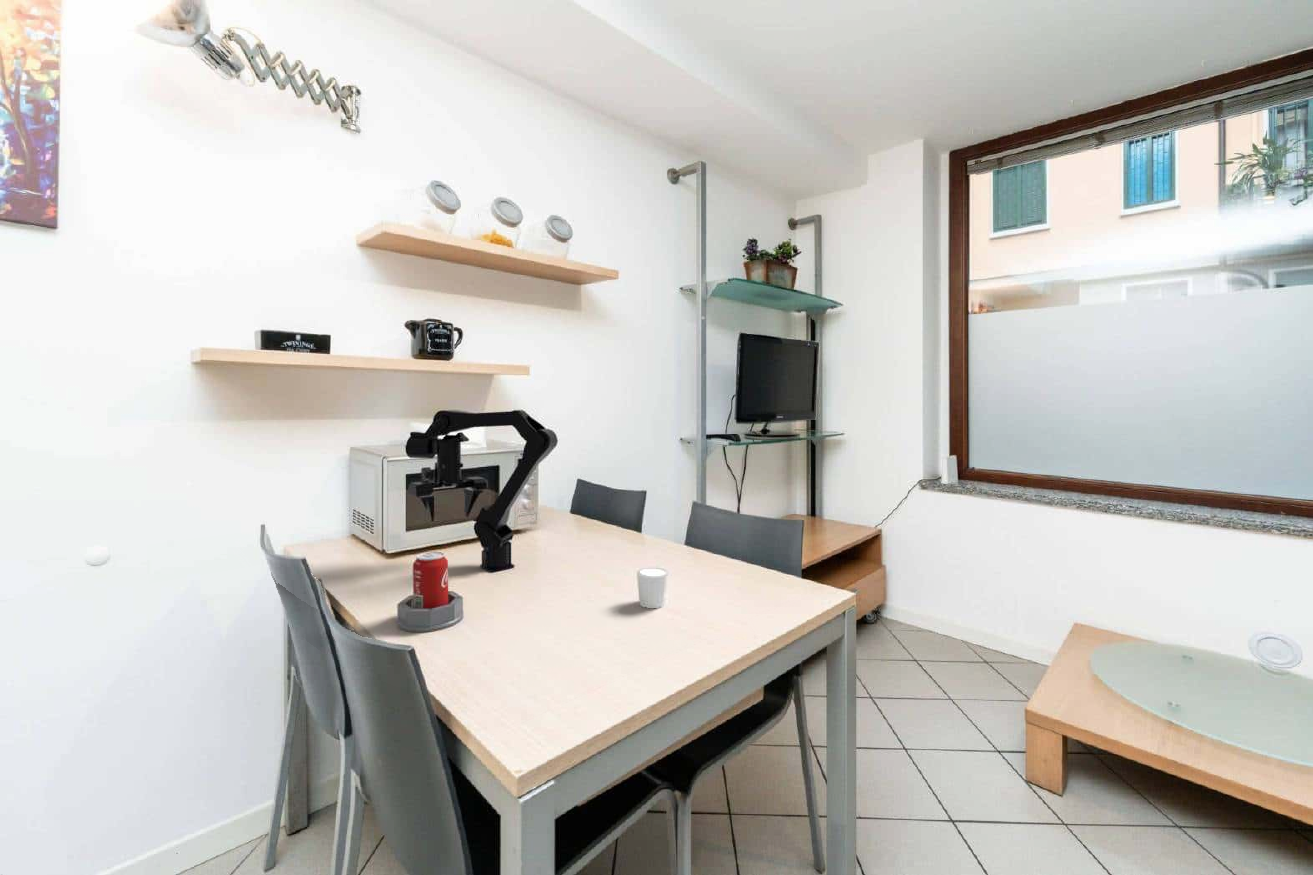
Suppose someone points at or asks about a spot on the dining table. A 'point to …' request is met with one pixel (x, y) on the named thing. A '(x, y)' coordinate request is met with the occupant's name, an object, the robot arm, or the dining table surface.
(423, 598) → the beverage can
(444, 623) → the cup holder
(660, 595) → the white cup
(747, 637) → the dining table surface
